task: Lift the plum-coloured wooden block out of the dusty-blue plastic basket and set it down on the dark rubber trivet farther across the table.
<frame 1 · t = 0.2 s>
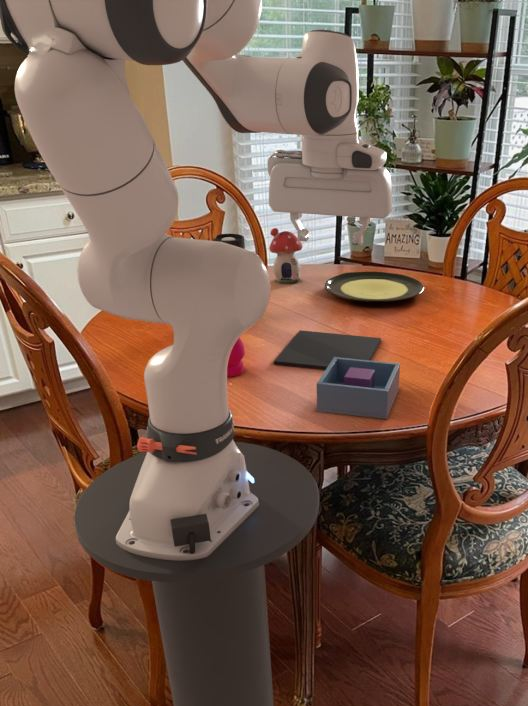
hand: (330, 242, 119), 32 cm above the table, tool pointing down, fingers open, 8 cm apart
travel mug: (234, 319, 180), on the table
basket: (359, 400, 141), on the table
block: (359, 396, 140), point 1 cm above the table, touching basket
plate: (373, 294, 200), on the table
decorative ornament: (287, 281, 209), on the table
trivet: (329, 352, 162), on the table
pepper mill: (229, 372, 152), on the table
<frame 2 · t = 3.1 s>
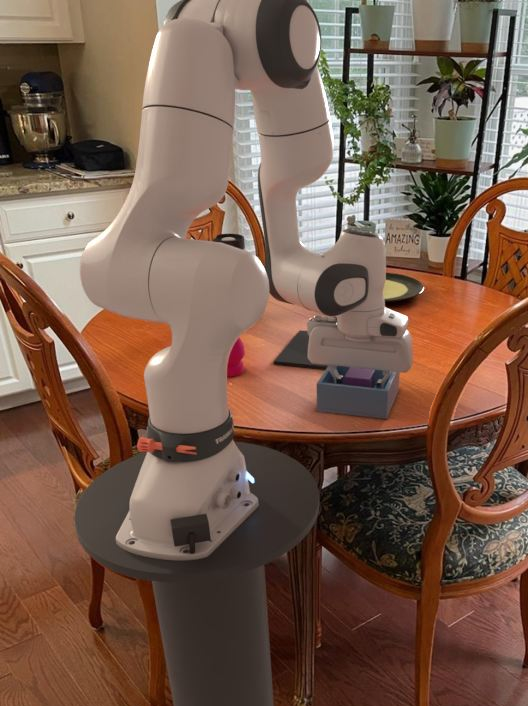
hand: (359, 387, 140), 3 cm above the table, tool pointing down, fingers open, 7 cm apart
nothing on the table moved.
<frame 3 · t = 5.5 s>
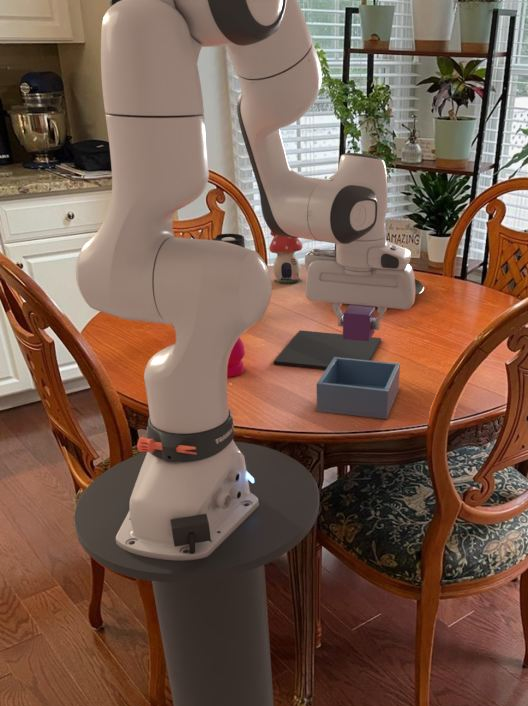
hand: (359, 327, 134), 15 cm above the table, tool pointing down, fingers closed on block, 5 cm apart
block: (358, 335, 135), point 13 cm above the table, touching gripper
everything else where it was.
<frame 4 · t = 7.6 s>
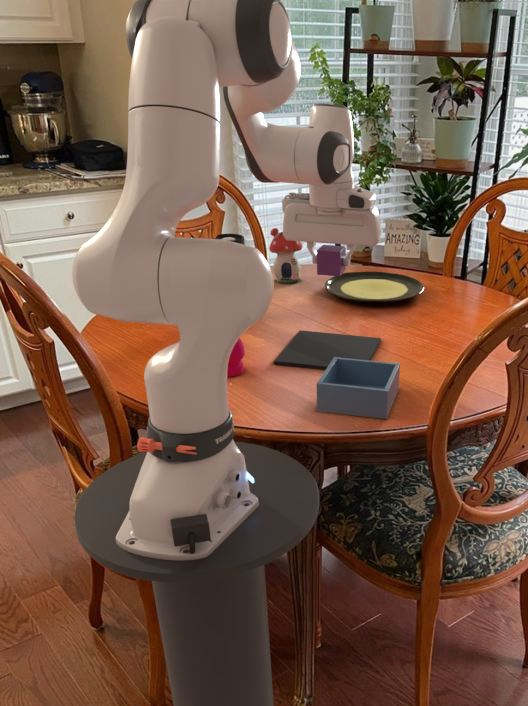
hand: (331, 264, 150), 20 cm above the table, tool pointing down, fingers closed on block, 5 cm apart
block: (331, 272, 151), point 19 cm above the table, touching gripper
everything else where it was.
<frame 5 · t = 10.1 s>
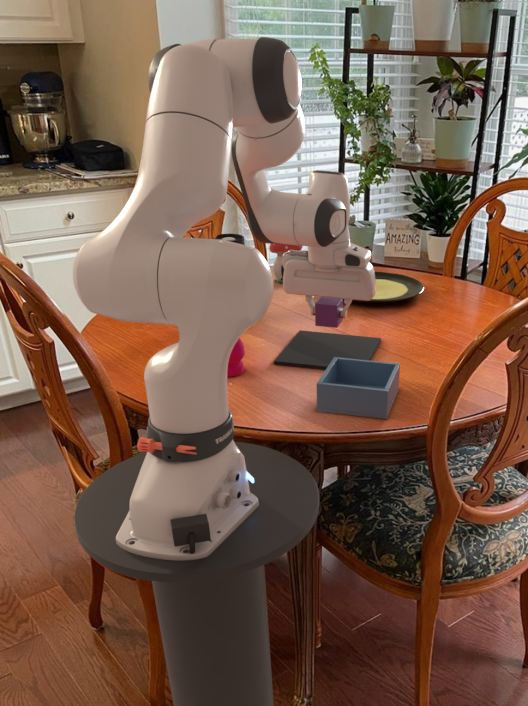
hand: (329, 316, 158), 8 cm above the table, tool pointing down, fingers closed on block, 5 cm apart
block: (329, 323, 158), point 7 cm above the table, touching gripper
everything else where it was.
when the fingers open (2 cm above the table, at t = 12.0 s): block stays where it is, resting on trivet.
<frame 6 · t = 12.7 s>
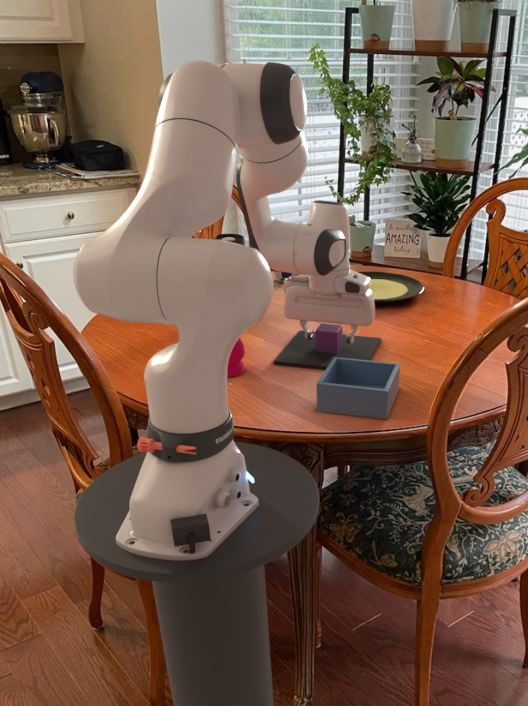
hand: (329, 340, 160), 3 cm above the table, tool pointing down, fingers open, 8 cm apart
block: (329, 348, 162), point 1 cm above the table, touching trivet
everything else where it was.
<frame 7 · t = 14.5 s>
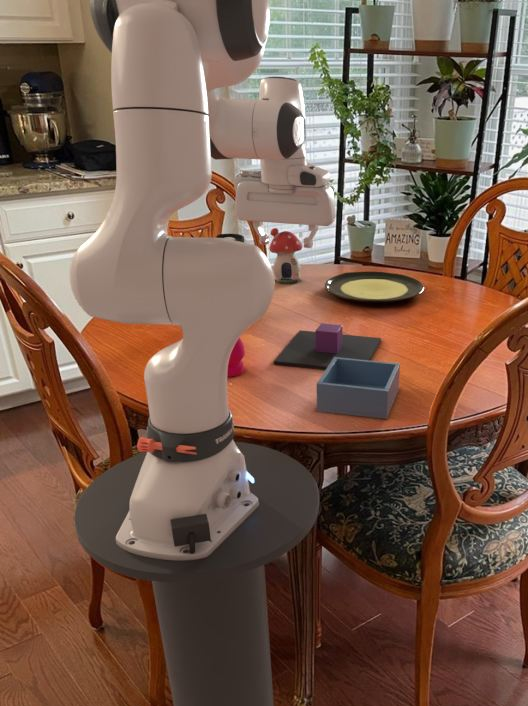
hand: (286, 245, 145), 25 cm above the table, tool pointing down, fingers open, 8 cm apart
nothing on the table moved.
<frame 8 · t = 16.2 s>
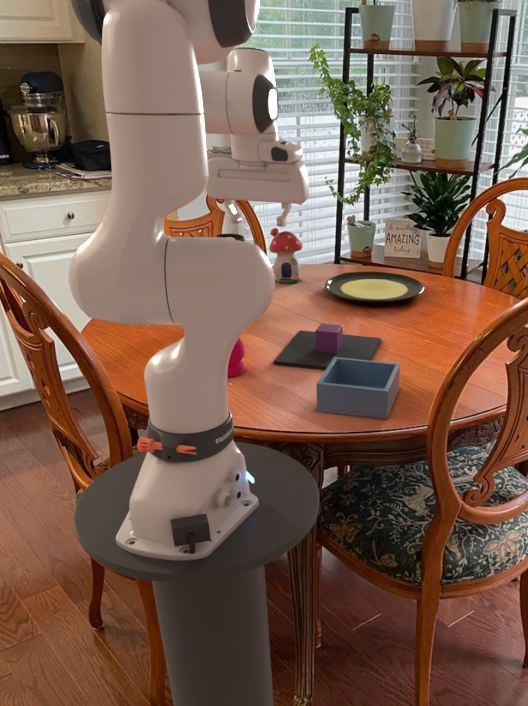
hand: (259, 224, 141), 29 cm above the table, tool pointing down, fingers open, 8 cm apart
nothing on the table moved.
at the end: block inside the target area on the trivet (0.1 cm from its centre), point 0.8 cm above the trivet's base; block tilted 0°; the gripper is holding nothing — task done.
